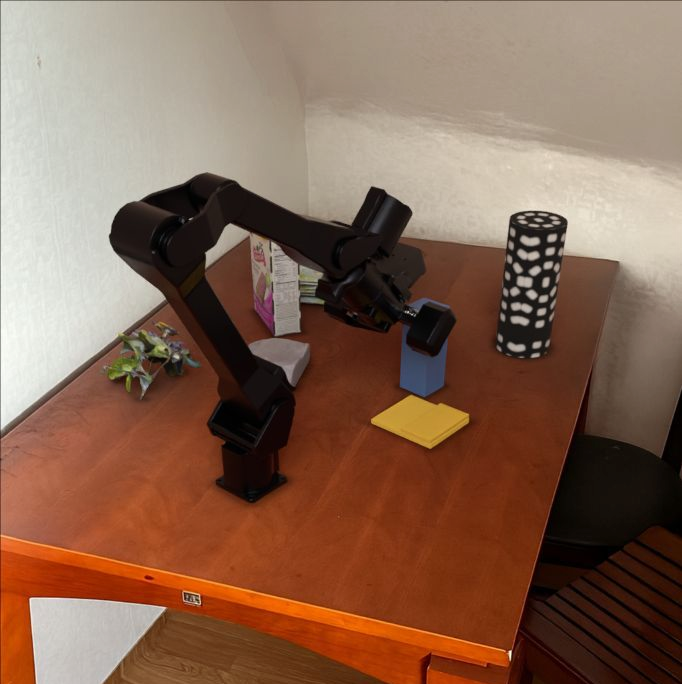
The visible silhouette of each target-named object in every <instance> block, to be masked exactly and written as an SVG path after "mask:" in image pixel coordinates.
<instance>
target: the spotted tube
mask: <svg viewBox="0 0 682 684" xmlns="http://www.w3.org/2000/svg"><path fill="white" fill-rule="evenodd" d="M568 224H569V221H568V219H567V218H566V217H564V216H563V215H561V214H559V213H555V212H550V211H544V210H522V211H517V212H515V213H513V214H511V215H510V216H509V221H508V227H507V228H508V229H507V238H506V246H505V255H504V264H503V273H502V282H501V290H500V299H499V309H498V318H497V325H496V326H497V327H496V335H495V342H494V343H495V345H494V346H495V348H496V349H497V350H498V352H500V353H502V354H504V355H507V356H509V357H514V358H519V359H534V358H539V357H541V356H544V355H545V354H547V353H548V352H549V350H550V344H551V337H552V331H553V324H554V319H555V318H554V316H555V310H556V305H557V297H558V292H559V291H558V290H559V283H560V278H561V270H562V263H563V257H564V252H565V251H564V250H565V245H566V237H567V232H568V231H567V230H568Z"/></svg>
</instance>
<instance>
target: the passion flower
mask: <svg viewBox="0 0 682 684" xmlns="http://www.w3.org/2000/svg"><path fill="white" fill-rule="evenodd" d="M151 323H152V326H154V327H156V328H158V329H159V330H160V331H162V332H163V334H162V335H158V334H157V333H156V332H152V331H150V330H149V329H148V331H146V330H145V329H144V328H141V329H140V330H139V329H137V328H136V329H134V331H136V332H134V331H132V333H131V335H126V334H123V333H122V332H121V331H119V332H118V338H119V339H120V341H122V343H123V345H122V346H121V349H120V355H124V354H126V353H130V352H134V353H131V354H130V355H129V356H122V357H117V358H115V360H114V361H113V363H111V366H110V364H109V363H108V362H107V363H106V362H105V363H103V364H104V365H103V367H102V368H101V370H100V374H101V376H105V375H106V376H107V378H108V379H109V381H114V380H116V379H118V380H121V379H122V377H124V376H126V381H125V388H126V391H127V392H128V393H129V394H130V393H131V388H132V382H133V380H134V379H135V378H136V377H138V378H139V383H140V386H141V395H140V397H139V400H140V401H141V400H142V399H143V397H144V395H145V394H146V391H147V390H148V388H149V387H150V385H151V384H152V383H154V382H155V377H156V376H157V375H158V374H159V373H160V372H161V370H162V369H164V372H165V374H166V375H168V376H169V377H175V376H176V375H177V376H181V377H185V376H186V373H185V371H184V366H185V365H188V366H190V367H191V368H194V369H200V368H201V367H202V362H200V361H197V360H195V359H193V358H192V356H191V350H190V349H189V348H184V347H182V345H183V344H184V342H182V341H177V340H174V341H170V340H171V338H166V337H167V335H169V336H171V337H174V336H177V335H180V332H178V330H177V329H175V328H174V327H173V326H171V325H169V324H166V323H164V322H162V321H155V320H153V321H151ZM134 354H135V355H134ZM146 360H147V361H148V362H149V363H150V364H149V368H148V370H145V369H144V367H143V362H145V361H146ZM159 363H160V364H161V365H160V367H159V368H158V369H157V370H156V371H155V372H154V373H153V374H151V371H152V365H153V364H154V365H155V364H159ZM106 370H107V372H106ZM138 372H141V373H143V374H144V375H143V374H139V373H138Z"/></svg>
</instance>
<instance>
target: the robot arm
mask: <svg viewBox="0 0 682 684" xmlns="http://www.w3.org/2000/svg"><path fill="white" fill-rule="evenodd" d="M413 214H414V212H413V210H412V209H411V208H410V206H409V205H408V204H405V203H403V202H402V201H401V200H400V199H398V198H396V197H394V196H393V195H391V194H388V192H387V191H386V189H384V188H380V187H377V186H373V185H372V186H370V188H369V190H368V191H367V192H366V195H365V198H364V200H363V202H362V204H361V206H360V208H359V210H358V212H357V213H356V215H355V217H354V219H353V221H352V222H351V224H348V223H345V222H342V221H339V220H334V219H332V220H325V219H321V218H319V217H316V216H311V215H306V214H301V213H296V212H294V211H291V210H289V209H287V208H285V207H283V206H281V205H280V204H277V203H275V202H274V201H272V200H270V199H267V198H265V197H263V196H261V195H260V194H257V193H255V192H253V191H251V190H249V189H247V188H245V187H244V186H242V185H241V184H240V183H239V182H238V181H237V180H235V179H231V178H228V177H225V176H221V175H218V174H215V173H212V172H202V173H199V174H196V175H194V176H193V177H191V178H189V179H188V180H186V181H184V182H183V183H180V184H176V185H173V186H170V187H167V188H164V189H160V190H156V191H154V192H151V193H149V194H147V195H146V196H144V197H142V198H141V199H140V200H133V201H130V202H126V204H124V205H123V206H121V207H120V208H119V209H118V211H117V212H116V214H115V215H114V217H113V219H112V222H111V226H110V232H109V234H108V241H109V244H110V247H111V249H112V250H113V252H114V253H115V254H116V255H117V256H118V257H119V258H120V259H121V260H122V261H123V262H124V263H125V264H126V265H127V266H128V267H129V268H130V269H131V270H132V271H133V272H134V273H136V274H137V275H138V276H140V277H141V278H142V279H144V280H145V281H146V282H148V283H149V284H150V285H152V286H153V287H154V288H156V289H157V290H158V291H159V292H160V293H161V294H162V295H163V297H164V298H165V300H166V302H167V303H168V304H169V305H170V307H171V309H172V311H174V313H175V314H176V316H177V317H178V319H179V320H180V322H181V324H182V325H183V326H184V328H185V329H186V331H187V332H188V334H189V335H190V337H191V339H192V340H193V341H194V343H195V345H197V347H198V349H199V351H201V353H202V354H203V356H204V357H205V359H206V360H207V362H208V363H209V365H210V366H211V368H212V369H213V370H214V372H215V374H216V375H217V378H218V381H217V387H216V391H217V394H218V397H219V400H218V402H217V404H216V406H215V407H214V409H213V411H212V413H211V414H210V416H209V418H208V420H207V422H206V427H207V428H208V430H209V433H210V435H211V436H213V437H217V438H218V439H220V440H222V441H224V442H225V443H223V444H221V445H220V447H221V460H222V472H223V475H221V476H219V477H218V478H216V479H215V485H216V486H218V487H220V488H222V489H223V490H226V491H227V492H229V493H230V494H232V495H234V496H236V497H239V498H240V499H242V500H244V501H246V502H247V503H249V504H250V503H251V504H252V503H255V502H257V501H258V500H261V498H263V497H265V496H266V495H268V494H269V493H271V492H273V491H274V490H276V489H278V488H279V487H281V486H282V485H284V484H286V483H287V481H288V478H287V476H286V475H283V474H282V473H280V472H279V471H280V458H279V457H280V455H279V453H280V452H279V451H280V450H281V449H284V448H285V447H287V446H288V443H289V439H290V434H291V429H292V426H293V423H294V417H295V412H296V406H297V399H296V396H295V394H294V393H293V392H294V391H296V390H297V388H296V386H295V387H294V386H292V385H291V384H290V383H289V381H288V378H287V375H286V373H285V371H284V370H283V368H282V367H281V366H279V365H276V364H274V363H272V362H270V361H268V360H265V359H263V358H261V357H259V356H256V355H254V354H252V352H251V350H250V349H249V344H247V342H246V341H245V339H244V336H243V335H242V334H241V332H240V330H239V329H238V326H236V324H235V322H234V320H233V319H232V318H231V316H230V314H229V312H228V311H227V309H226V307H225V306H224V304H223V303H222V301H221V299H220V297H219V296H218V295H217V293H216V292H215V289H214V288H213V286H212V285H211V283H210V281H209V280H208V278H207V275H206V266H207V265H206V264H207V254H206V253H207V252H209V251H210V250H212V249H214V247H216V246H217V244H218V242H219V240H220V238H221V236H222V234H223V232H224V231H225V228H226V227H227V226H229V225H230V224H231V225H233V226H234V227H237V228H239V229H241V230H245V231H247V232H248V233H250V232H251V233H253V234H255V235H258V236H260V237H262V238H264V239H267V240H269V241H271V242H273V243H275V244H276V245H278V246H279V247H280V248H281V249H282V251H283V253H284V254H285V255H287V256H288V257H289V258H290V259H292V260H293V261H294V262H296V263H297V264H299V265H301V266H304V267H306V268H309V269H312V270H315V271H318V272H320V273H323V275H322V278H320V279H318V285H317V287H316V289H315V297H316V298H318V299H321V300H323V301H324V305H323V312H324V313H325V315H327V316H328V318H330V319H333V320H335V321H338V322H339V323H342V324H344V325H347V326H349V327H351V328H356V329H360V330H365V331H369V332H375V333H380V334H385V335H387V334H388V333H389V332H390V330H391V328H392V327H394V326H395V325H396V324H397V323H399V324H401V325H403V324H405V325H407V326H410V329H409V331H408V332H407V334H406V344H407V345H408V346H409V347H410V348H411V349H412V350H413V351H415V352H418V353H420V354H423V355H425V356H429V357H431V358H433V357H435V356H437V355H438V354H439V352H440V351H441V349H442V347H443V345H444V343H445V341H446V339H447V338H448V339H449V336H450V334H451V332H452V330H453V328H454V326H455V325H456V323H457V321H458V320H457V316H456V313H454V312H453V310H452V309H451V308H450V309H449V308H446V307H444V306H441V305H438V304H435V303H432V302H427V303H425V304H423V305H422V307H421V309H420V310H419V309H416V308H413V307H410V306H408V305H409V304H405V303H409V302H410V300H411V298H412V297H413V293H412V291H410V288H412V287H413V286H414V285H415V284H416V283H417V281H418V280H419V279H420V278H421V277H422V276H424V275H425V274H426V273H427V267H426V262H425V258H424V255H423V251H422V249H421V248H419V247H416V246H412V245H409V244H407V243H404V242H399V240H400V239H401V237H402V235H403V233H404V232H405V229H406V227H407V226H408V225H409V222H410V220H411V219H412V217H413V216H414V215H413ZM406 313H407V314H406Z"/></svg>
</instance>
